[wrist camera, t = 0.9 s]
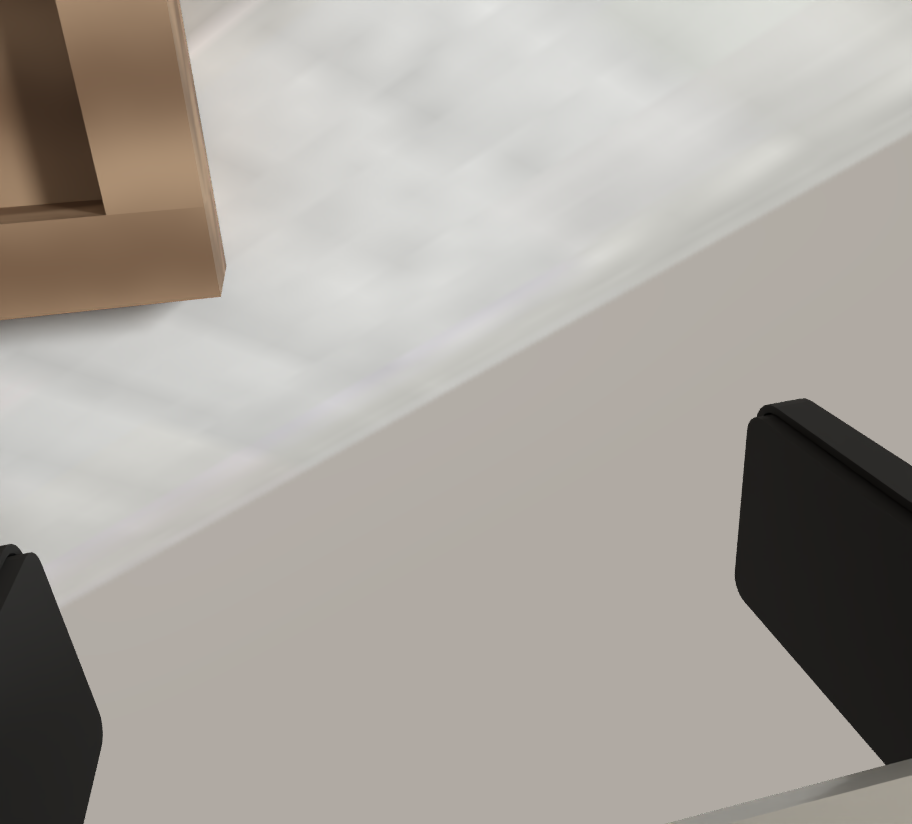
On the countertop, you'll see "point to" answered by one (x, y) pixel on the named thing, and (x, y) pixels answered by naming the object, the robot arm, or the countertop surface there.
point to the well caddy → (101, 160)
